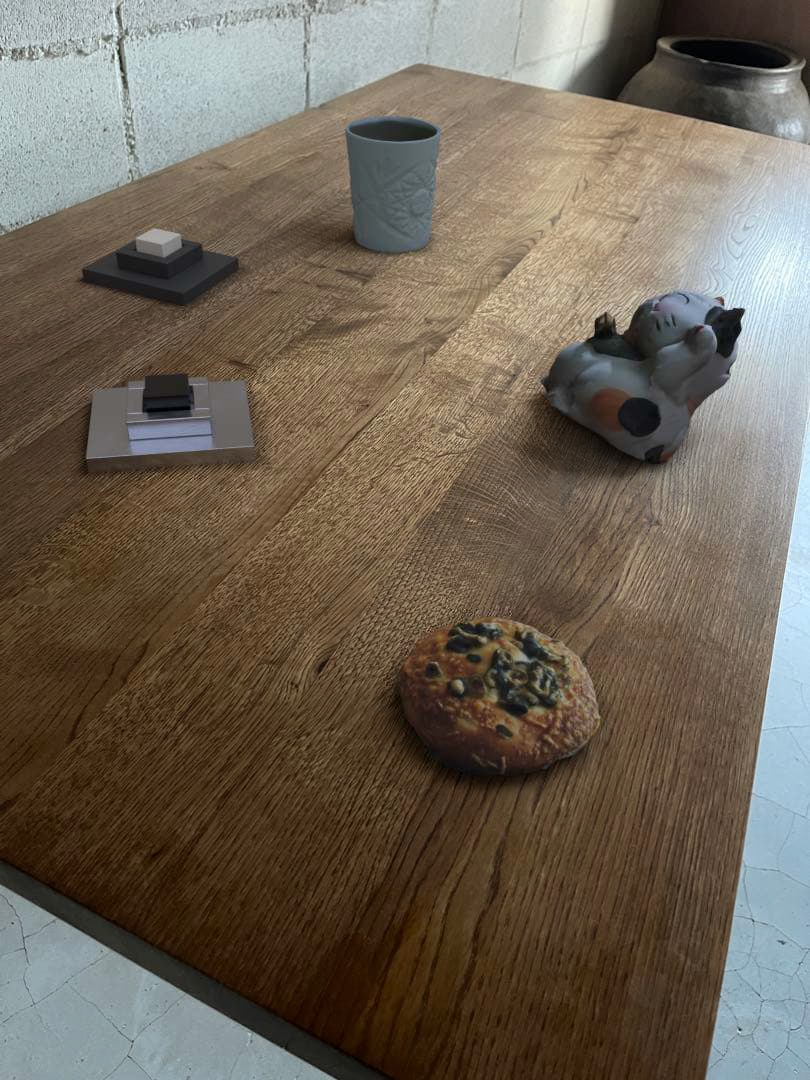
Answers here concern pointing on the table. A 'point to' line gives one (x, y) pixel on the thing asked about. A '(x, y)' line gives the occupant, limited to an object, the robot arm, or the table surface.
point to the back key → (158, 242)
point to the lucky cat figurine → (647, 372)
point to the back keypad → (162, 272)
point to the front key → (167, 393)
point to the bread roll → (497, 698)
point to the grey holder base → (169, 428)
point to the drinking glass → (392, 181)
